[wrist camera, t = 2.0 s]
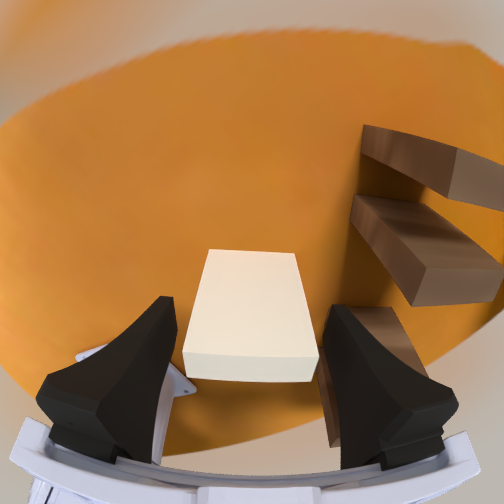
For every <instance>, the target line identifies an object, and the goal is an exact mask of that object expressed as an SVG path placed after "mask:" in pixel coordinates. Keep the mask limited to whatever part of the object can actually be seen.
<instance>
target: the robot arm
mask: <svg viewBox="0 0 504 504" xmlns="http://www.w3.org/2000/svg"><path fill="white" fill-rule="evenodd" d="M177 331H178V329H177V322H176V315H175V308H174V301H173V297H167V296H160V297H159V298H158V299H157V300H156V301H155V302H154V303H153V304H152V305H151V306H150V307H149V308H148V309H147V310H146V311H145V312H144V313H143V314H142V315H141V316H140V317H139V318H138V319H137V320H136V321H135V322H134V323H133V324H132V325H131V326H129V327H128V328H127V329H126V330H125V331H124V332H123V333H121V334H120V335H119V336H118V337H117V338H115V339H114V340H113V341H112V342H110V343H108V344H105V345H102V346H99V347H96V348H94V349H91V350H88V351H85V352H82V353H79V354H77V355H76V357H75V358H76V360H77V361H78V362H77V363H75V364H73V365H71V366H69V367H67V368H64V369H61V370H59V371H56V372H54V373H51V374H48V375H47V377H46V378H45V380H44V382H43V384H42V386H41V388H40V390H39V392H38V394H37V396H36V401H37V404H38V405H39V407H40V408H41V409H42V411H43V412H44V413H45V414H46V415H47V416H48V417H49V419H50V420H51V421H52V422H53V423H54V424H53V426H52V428H50V427H49V426H47V425H45V424H43V423H41V422H39V421H37V420H35V419H33V418H31V417H26V419H25V421H24V424H23V425H22V428H21V430H20V433H19V435H18V437H17V439H16V442H15V445H14V447H13V449H12V452H11V454H10V457H9V458H10V460H11V461H12V462H14V463H15V464H17V465H18V466H19V467H21V468H22V469H24V470H25V471H27V472H28V473H30V474H31V475H32V476H33V479H32V482H31V486H30V493H29V498H28V503H27V504H421V503H423V502H426V501H428V500H430V499H432V498H435V497H437V496H440V495H442V494H444V493H446V492H448V491H450V490H452V489H454V488H455V487H457V486H459V485H461V484H463V483H464V482H466V481H467V480H469V479H471V478H472V477H474V476H476V475H477V474H479V473H480V471H481V470H480V467H479V464H478V461H477V458H476V455H475V453H474V450H473V447H472V445H471V442H470V439H469V437H468V434H467V432H466V431H462V432H460V433H457V434H455V435H452V436H450V437H448V438H446V439H444V440H442V437H441V435H442V434H443V433H444V430H443V428H442V426H443V425H444V424H445V423H446V422H447V421H448V420H449V419H450V418H451V416H453V415H454V413H455V412H456V411H457V409H458V406H459V403H458V401H457V399H456V397H455V394H454V393H453V390H452V388H449V387H447V386H445V385H442V384H440V383H438V382H436V381H434V380H432V379H430V378H428V377H426V376H424V375H422V374H421V373H419V372H417V371H416V370H414V369H413V368H411V367H410V366H408V365H407V364H405V363H404V362H402V361H401V360H400V359H398V358H397V357H396V356H395V355H394V354H392V353H391V352H390V351H389V350H388V349H386V348H385V347H384V346H383V345H382V344H381V343H380V342H379V341H378V340H377V339H376V338H375V337H374V336H373V335H372V334H371V333H370V332H369V331H368V330H367V329H366V328H365V327H364V326H363V325H362V324H361V322H360V321H359V320H358V319H357V318H356V317H355V316H354V315H353V314H352V312H351V311H350V310H349V309H348V308H347V307H346V306H345V305H339V304H332V306H331V310H330V313H329V317H328V320H327V324H326V327H325V331H324V334H323V342H324V350H325V356H326V360H327V364H328V368H329V372H330V375H331V379H332V383H333V387H334V391H335V395H336V400H337V408H338V416H339V428H340V446H341V470H338V471H330V472H322V473H312V474H299V475H282V476H281V475H280V476H245V475H244V476H243V475H224V474H212V473H202V472H194V471H186V470H180V469H174V468H168V467H162V466H160V463H161V458H162V453H163V447H164V442H165V437H166V432H167V427H168V422H169V417H170V413H171V408H172V403H173V399H174V397H178V396H183V395H188V394H193V393H196V391H197V388H196V386H194V385H193V384H192V383H191V382H190V381H189V380H188V379H187V378H186V377H185V376H184V375H183V374H182V373H181V372H180V371H179V370H178V369H176V368H175V367H174V366H173V365H172V364H171V363H170V360H171V357H172V354H173V351H174V347H175V342H176V336H177Z"/></svg>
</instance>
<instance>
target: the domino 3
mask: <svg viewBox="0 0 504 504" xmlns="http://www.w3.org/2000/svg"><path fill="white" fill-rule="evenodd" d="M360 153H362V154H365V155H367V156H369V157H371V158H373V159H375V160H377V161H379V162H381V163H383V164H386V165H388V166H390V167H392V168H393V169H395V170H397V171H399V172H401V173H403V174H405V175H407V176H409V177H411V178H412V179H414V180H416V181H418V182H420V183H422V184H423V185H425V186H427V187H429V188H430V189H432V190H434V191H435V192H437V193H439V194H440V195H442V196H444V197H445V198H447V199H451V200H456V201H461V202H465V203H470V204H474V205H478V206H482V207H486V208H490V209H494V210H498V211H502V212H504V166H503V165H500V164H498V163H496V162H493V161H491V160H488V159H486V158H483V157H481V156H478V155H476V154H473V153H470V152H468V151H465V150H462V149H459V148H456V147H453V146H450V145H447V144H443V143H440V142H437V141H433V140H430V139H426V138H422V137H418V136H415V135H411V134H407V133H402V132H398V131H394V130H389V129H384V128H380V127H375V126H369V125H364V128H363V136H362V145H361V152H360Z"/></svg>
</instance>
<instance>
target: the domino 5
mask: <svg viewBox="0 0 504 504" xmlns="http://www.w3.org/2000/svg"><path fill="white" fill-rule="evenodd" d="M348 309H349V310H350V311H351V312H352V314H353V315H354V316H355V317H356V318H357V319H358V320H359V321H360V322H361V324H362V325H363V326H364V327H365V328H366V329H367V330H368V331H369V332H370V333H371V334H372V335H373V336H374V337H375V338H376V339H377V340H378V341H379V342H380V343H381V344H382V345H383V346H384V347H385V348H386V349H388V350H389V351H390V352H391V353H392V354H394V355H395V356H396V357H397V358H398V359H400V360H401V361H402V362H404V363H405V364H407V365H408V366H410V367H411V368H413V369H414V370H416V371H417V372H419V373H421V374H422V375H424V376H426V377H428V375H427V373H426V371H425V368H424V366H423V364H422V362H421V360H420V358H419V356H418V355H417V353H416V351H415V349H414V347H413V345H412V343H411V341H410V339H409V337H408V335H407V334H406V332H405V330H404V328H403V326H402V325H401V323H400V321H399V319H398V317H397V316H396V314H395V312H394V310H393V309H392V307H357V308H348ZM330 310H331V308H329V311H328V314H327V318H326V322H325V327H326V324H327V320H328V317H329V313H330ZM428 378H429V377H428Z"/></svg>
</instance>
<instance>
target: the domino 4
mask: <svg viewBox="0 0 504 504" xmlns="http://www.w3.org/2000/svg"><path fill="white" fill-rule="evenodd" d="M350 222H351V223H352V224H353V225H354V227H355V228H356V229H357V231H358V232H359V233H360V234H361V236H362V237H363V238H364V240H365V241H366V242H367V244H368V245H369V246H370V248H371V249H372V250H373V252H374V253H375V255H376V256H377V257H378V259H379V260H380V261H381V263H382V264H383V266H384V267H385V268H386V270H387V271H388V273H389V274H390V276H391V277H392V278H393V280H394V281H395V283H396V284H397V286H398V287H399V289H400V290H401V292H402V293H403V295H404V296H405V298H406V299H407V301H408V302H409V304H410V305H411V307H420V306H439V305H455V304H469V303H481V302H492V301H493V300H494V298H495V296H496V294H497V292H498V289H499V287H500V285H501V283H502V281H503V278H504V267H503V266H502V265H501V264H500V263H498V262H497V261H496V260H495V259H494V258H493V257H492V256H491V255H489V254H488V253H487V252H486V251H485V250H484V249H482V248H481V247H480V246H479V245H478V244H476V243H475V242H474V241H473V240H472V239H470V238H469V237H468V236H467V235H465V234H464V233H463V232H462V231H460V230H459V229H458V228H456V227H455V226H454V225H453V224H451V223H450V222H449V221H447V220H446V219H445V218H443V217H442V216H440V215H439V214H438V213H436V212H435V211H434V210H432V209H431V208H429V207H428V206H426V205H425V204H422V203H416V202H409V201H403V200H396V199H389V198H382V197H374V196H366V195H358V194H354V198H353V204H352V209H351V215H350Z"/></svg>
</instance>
